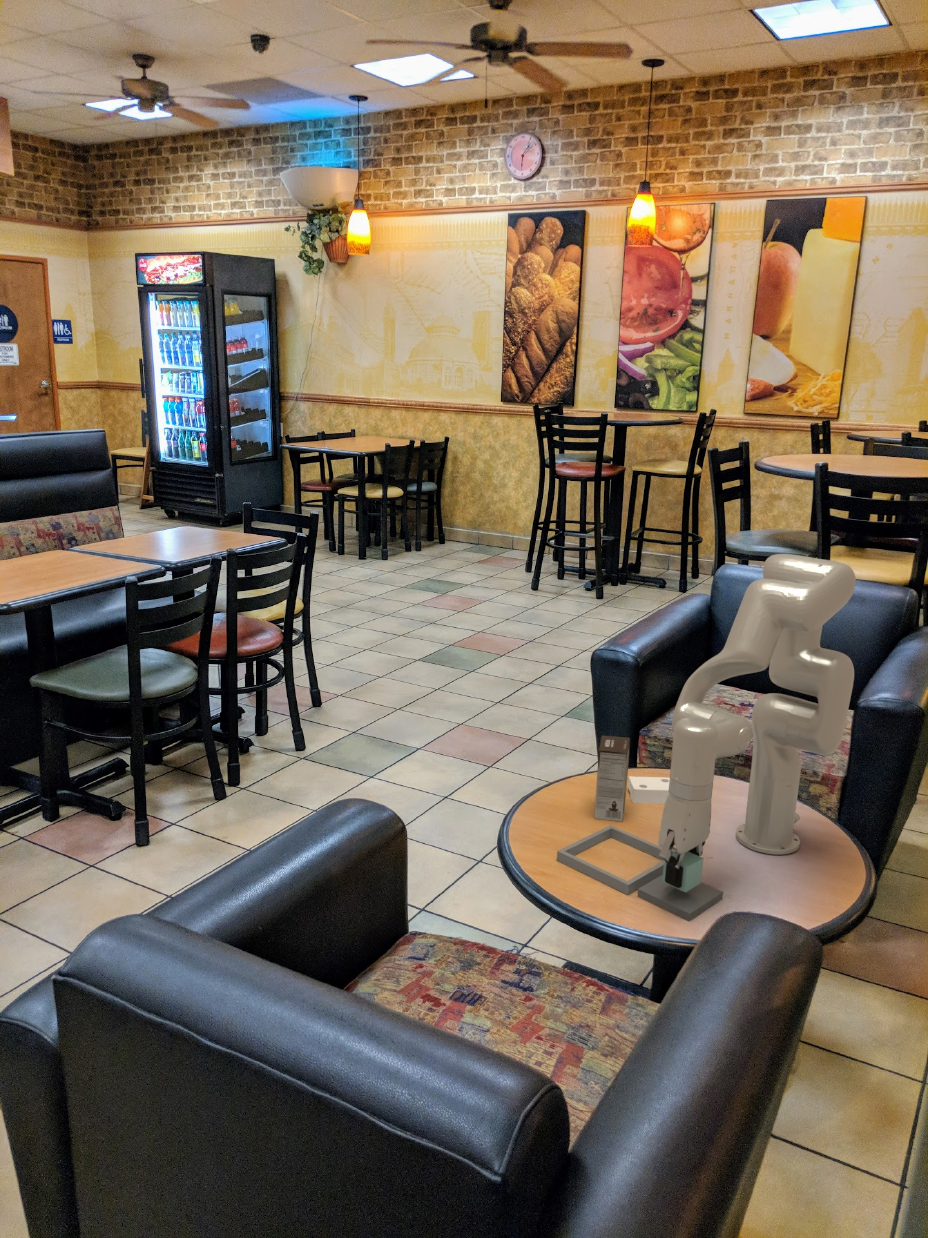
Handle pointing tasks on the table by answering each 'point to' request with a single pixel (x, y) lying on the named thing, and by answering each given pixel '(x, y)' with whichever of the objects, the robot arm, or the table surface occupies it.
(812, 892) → the table surface
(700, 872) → the teal cube
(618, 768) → the coffee box
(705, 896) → the slate board
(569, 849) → the low bin
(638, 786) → the bracket
